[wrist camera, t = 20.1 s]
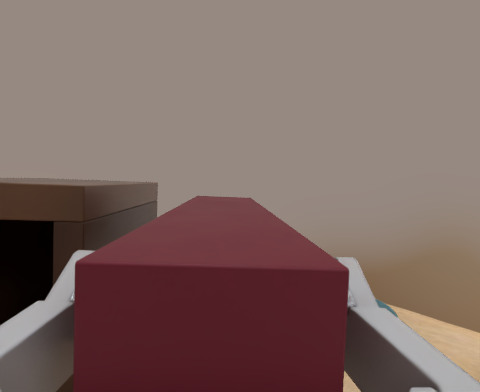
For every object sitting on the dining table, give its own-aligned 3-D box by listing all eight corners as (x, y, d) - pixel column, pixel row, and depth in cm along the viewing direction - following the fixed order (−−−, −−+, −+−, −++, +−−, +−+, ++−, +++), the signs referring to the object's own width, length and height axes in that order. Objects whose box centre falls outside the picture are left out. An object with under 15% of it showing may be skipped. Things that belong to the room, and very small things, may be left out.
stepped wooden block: (-142, 789, 14) (-155, 176, 12) (44, 480, 28) (47, 178, 26) (322, 766, 15) (354, 195, 13) (275, 479, 28) (288, 187, 27)
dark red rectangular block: (70, 467, 5) (73, 260, 5) (195, 237, 25) (196, 196, 25) (339, 466, 5) (351, 268, 5) (249, 238, 25) (251, 197, 25)
